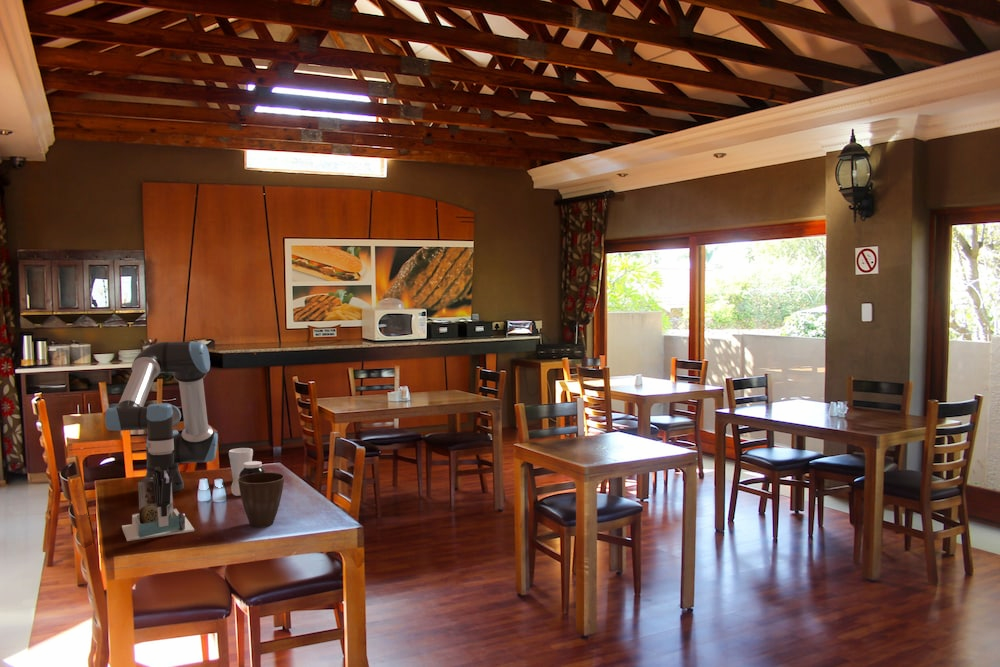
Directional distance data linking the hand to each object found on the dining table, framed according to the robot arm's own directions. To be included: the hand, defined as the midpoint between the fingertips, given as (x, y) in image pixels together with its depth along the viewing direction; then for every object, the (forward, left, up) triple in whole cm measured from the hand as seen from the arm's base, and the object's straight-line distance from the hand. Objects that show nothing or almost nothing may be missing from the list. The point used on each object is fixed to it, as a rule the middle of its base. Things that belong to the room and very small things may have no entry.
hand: (163, 525), depth 245 cm
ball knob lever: (-1, 0, -3) cm, 3 cm away
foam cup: (-65, +39, -4) cm, 75 cm away
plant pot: (+1, +31, -4) cm, 31 cm away
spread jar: (-43, +37, -4) cm, 56 cm away
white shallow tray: (-10, 0, -4) cm, 11 cm away
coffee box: (-12, -1, -4) cm, 12 cm away
